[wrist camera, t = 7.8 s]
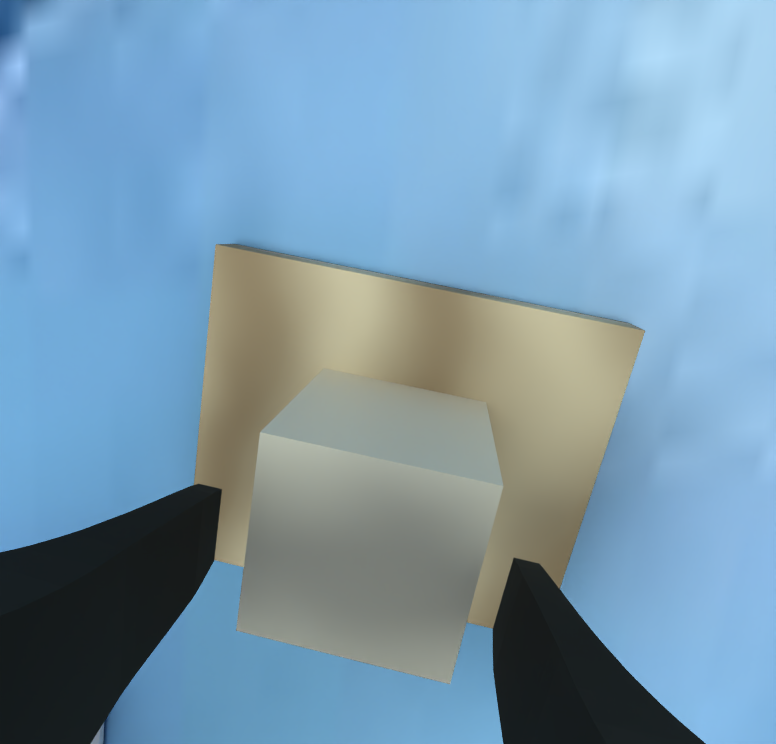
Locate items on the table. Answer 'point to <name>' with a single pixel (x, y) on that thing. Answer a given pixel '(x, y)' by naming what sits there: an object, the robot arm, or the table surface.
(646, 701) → the robot arm
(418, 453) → the pale matte cube
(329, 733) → the table surface
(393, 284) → the plate
